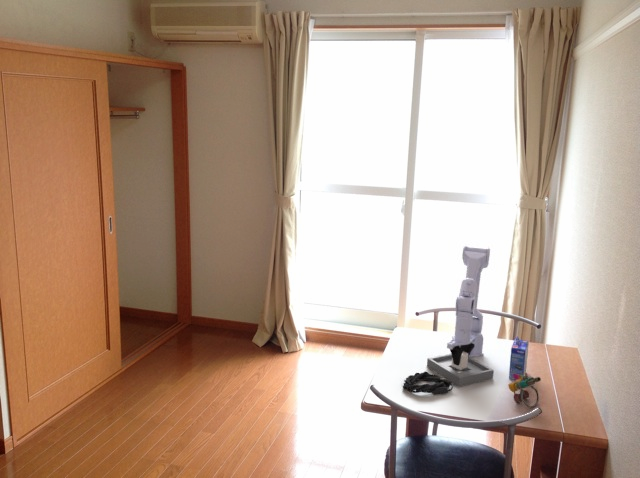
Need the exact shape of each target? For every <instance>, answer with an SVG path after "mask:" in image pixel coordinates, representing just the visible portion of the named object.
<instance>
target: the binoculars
mask: <svg viewBox="0 0 640 478" xmlns="http://www.w3.org/2000/svg"><path fill="white" fill-rule="evenodd" d="M541 380H542V378H541V377H540V376H536V377H534V376H532V377H528V376H527V375H525V376H523V380H522V379H520V380H515V382H511V383H510V382H509V383H508V385H507V386H508V387H507V388H508V389H509V390H510V392H512V393H513V400H514V402H515V403H516V404H519V403H523V404H524V405H525V407H529V408H532V407H535V406H537V405H538V403H539V400H540V399H539V392H538V389H537V388H536V387H534V385H535V384H536V383H539V382H541ZM528 387H530V388H531V389H532V390H534V391H535V393H536V394H535V395H536V401H535V403H534V405H529V404H528V403H526V401H525V400H528V399H530V392H529V391H528V390H527V389H525V388H528ZM518 390H519V393H517V391H518Z"/></svg>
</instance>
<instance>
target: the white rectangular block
mask: <svg viewBox="0 0 640 478" xmlns="http://www.w3.org/2000/svg"><path fill="white" fill-rule="evenodd" d="M467 363H468V353H466V352H464V351H463V353H462V355H461V359H460V363H459V365H458V366H457V365H455V364H454V363H453V358H452V366H453V367H455V368H457V369H456V370H462V369H464V368H466V367H467Z"/></svg>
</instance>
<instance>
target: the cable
mask: <svg viewBox="0 0 640 478" xmlns="http://www.w3.org/2000/svg"><path fill="white" fill-rule="evenodd" d="M420 380H422V381H427V382H435V383H433V384H429V383H424V384H416V383H417V382H418V381H420ZM403 381H404V382H403V385H402V388H403V389H407V390H408V392H410V393H413V394H415V393H416V394H418V393H426V394H427V393H428V394H432V395H434V396H435V395H445V394H448V393H450V392H451V391H452V390H453V388H454V386H453V385H454V384H453V383H452V382H451V381H449V380H447V379H445V378H443V377H442V376H440V375H437V374H432V373H430V372H428V371H423V372H420V373H419V372H415V374H414V375H413V374H412V375H408V376H407V377H406V378H405V379H404V380H403ZM450 387H451V388H450Z"/></svg>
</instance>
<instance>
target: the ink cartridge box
mask: <svg viewBox="0 0 640 478" xmlns="http://www.w3.org/2000/svg"><path fill="white" fill-rule="evenodd" d="M529 343H530V342H529V340H528V341H527V340H521V339H520V338H519V336H516V338H514V340H513V342H512V344H511V348H510V361H509V370H508V371H509V372H508V373H509V374H508V379H510V380H515V381H516V380H520V379H522V380H523V376H526V372H527V365H528V354H529Z"/></svg>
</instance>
